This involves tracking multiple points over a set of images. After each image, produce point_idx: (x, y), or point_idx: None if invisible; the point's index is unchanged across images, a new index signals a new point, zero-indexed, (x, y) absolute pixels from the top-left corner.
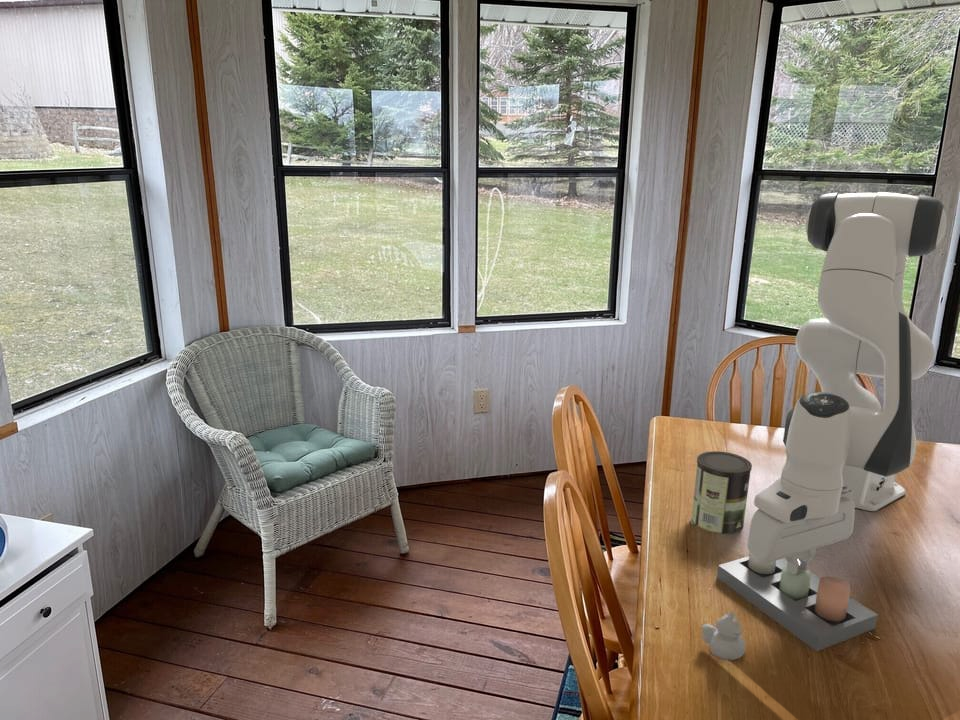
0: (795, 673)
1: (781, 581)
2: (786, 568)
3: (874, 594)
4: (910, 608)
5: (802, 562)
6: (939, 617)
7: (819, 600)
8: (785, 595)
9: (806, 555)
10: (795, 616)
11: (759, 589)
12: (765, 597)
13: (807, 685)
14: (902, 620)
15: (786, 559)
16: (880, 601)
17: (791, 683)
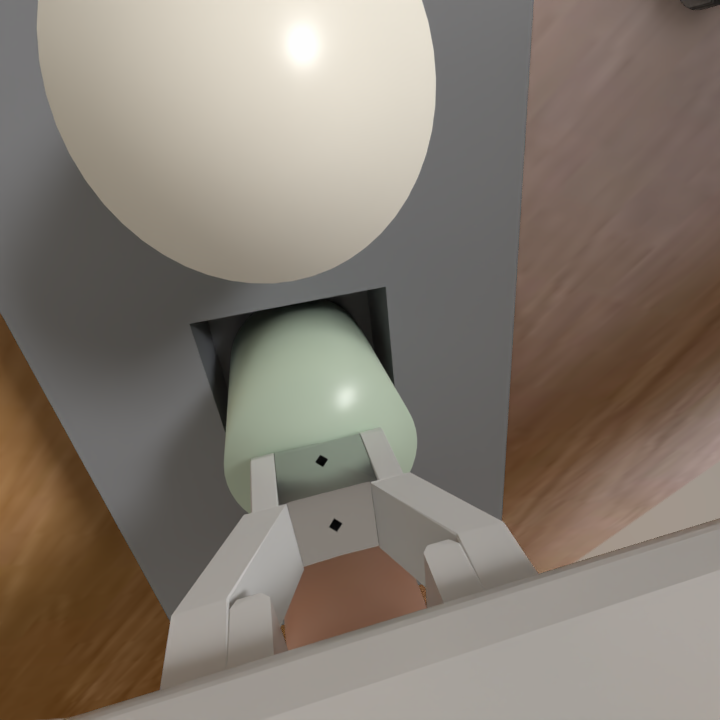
0: (75, 625)
1: (230, 394)
2: (251, 460)
3: (663, 334)
4: (675, 416)
5: (364, 531)
6: (692, 459)
7: (285, 616)
8: (217, 431)
9: (420, 563)
10: (163, 564)
11: (78, 359)
12: (79, 432)
13: (88, 658)
14: (596, 459)
15: (230, 536)
16: (639, 371)
17: (36, 655)
